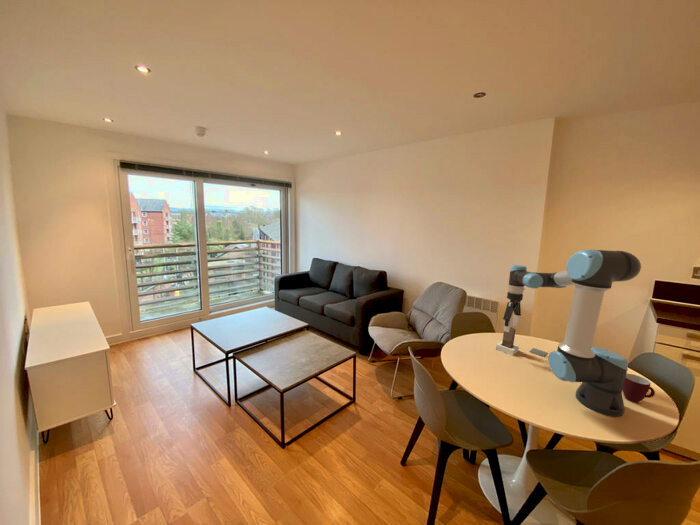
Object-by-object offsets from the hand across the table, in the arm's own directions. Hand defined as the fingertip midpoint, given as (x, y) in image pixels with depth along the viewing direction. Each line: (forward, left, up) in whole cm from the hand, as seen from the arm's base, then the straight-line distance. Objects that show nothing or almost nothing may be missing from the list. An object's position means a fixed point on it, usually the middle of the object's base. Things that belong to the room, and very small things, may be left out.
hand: (510, 328), depth 156 cm
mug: (-4, -52, -14) cm, 54 cm away
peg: (0, 0, -14) cm, 14 cm away
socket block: (0, 0, -14) cm, 14 cm away
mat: (+12, -12, -14) cm, 22 cm away
